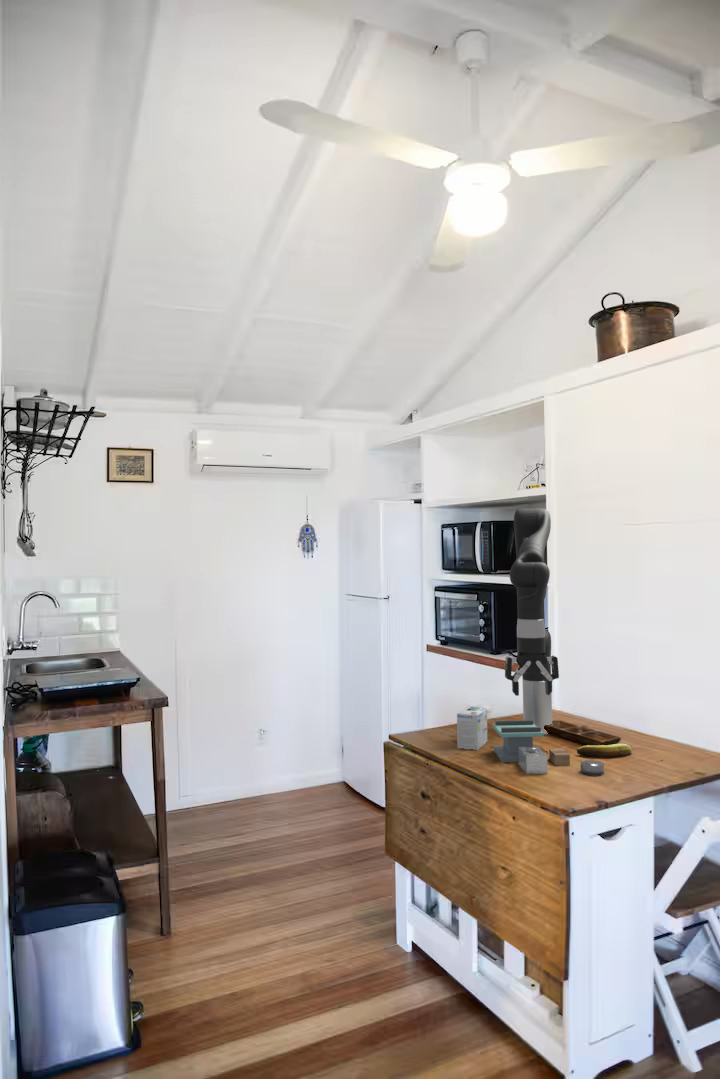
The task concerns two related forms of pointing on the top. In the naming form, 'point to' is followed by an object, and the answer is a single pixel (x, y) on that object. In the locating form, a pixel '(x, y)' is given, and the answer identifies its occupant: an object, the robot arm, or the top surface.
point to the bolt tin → (592, 767)
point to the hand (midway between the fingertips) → (532, 694)
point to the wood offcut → (559, 756)
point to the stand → (515, 737)
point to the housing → (532, 760)
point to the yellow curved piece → (604, 750)
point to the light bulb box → (472, 728)
